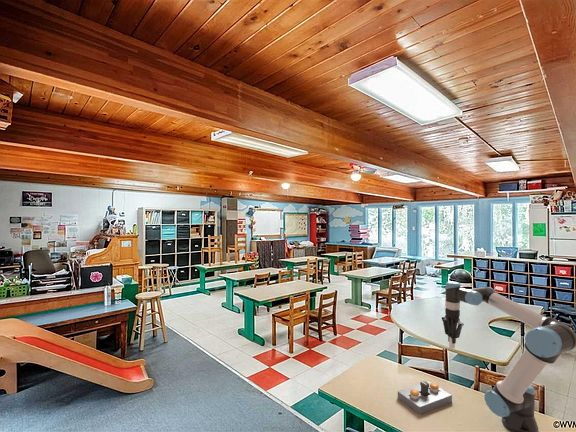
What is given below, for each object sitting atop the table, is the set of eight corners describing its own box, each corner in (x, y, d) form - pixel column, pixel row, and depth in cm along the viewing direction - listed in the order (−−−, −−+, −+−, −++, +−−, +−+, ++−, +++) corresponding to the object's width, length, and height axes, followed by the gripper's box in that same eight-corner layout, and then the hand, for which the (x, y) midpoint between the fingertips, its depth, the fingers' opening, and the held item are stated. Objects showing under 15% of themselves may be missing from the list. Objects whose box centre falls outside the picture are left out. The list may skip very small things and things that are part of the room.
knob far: (440, 397, 180) (440, 386, 180) (434, 399, 178) (434, 388, 178) (433, 392, 185) (433, 382, 185) (427, 394, 183) (428, 383, 183)
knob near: (420, 404, 174) (421, 392, 174) (414, 406, 172) (415, 395, 172) (414, 399, 178) (414, 388, 178) (408, 401, 176) (408, 390, 176)
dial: (430, 395, 177) (431, 384, 177) (425, 398, 175) (425, 386, 175) (424, 391, 181) (424, 380, 181) (418, 393, 179) (418, 382, 179)
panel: (451, 401, 176) (452, 395, 176) (419, 414, 166) (419, 407, 165) (428, 387, 191) (428, 380, 191) (397, 397, 180) (397, 391, 180)
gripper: (467, 310, 174) (466, 351, 174) (446, 304, 185) (446, 342, 186) (458, 312, 170) (457, 354, 171) (438, 305, 182) (437, 344, 183)
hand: (451, 348), depth 178 cm, fingers closed
